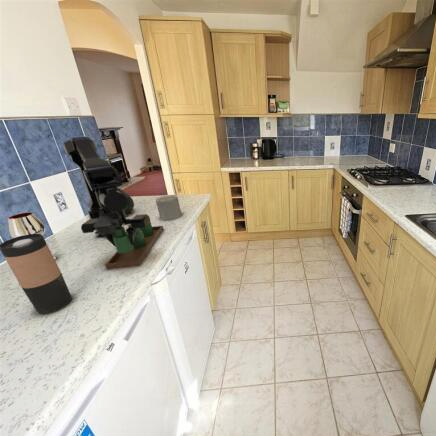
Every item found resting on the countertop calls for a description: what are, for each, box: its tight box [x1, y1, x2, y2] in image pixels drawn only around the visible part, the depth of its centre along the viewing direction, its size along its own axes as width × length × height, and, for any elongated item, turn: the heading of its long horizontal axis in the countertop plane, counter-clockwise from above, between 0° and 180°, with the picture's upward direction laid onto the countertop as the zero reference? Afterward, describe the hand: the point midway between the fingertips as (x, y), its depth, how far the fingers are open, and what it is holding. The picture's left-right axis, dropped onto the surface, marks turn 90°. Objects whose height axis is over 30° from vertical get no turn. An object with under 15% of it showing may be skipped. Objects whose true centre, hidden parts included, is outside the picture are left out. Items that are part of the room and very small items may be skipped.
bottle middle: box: [134, 228, 146, 249], centre depth 94 cm, size 5×5×8 cm
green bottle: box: [112, 226, 134, 254], centre depth 84 cm, size 5×5×8 cm
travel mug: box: [0, 234, 73, 315], centre depth 63 cm, size 8×8×20 cm
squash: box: [117, 187, 135, 215], centre depth 125 cm, size 14×15×15 cm
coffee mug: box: [155, 194, 182, 221], centre depth 123 cm, size 13×10×10 cm
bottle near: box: [138, 221, 154, 238], centre depth 102 cm, size 5×5×8 cm
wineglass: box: [7, 211, 57, 261], centre depth 83 cm, size 8×8×18 cm
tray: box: [104, 225, 165, 270], centre depth 95 cm, size 10×29×2 cm, turn 11°
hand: (124, 245), depth 85 cm, fingers closed on green bottle, 5 cm apart
